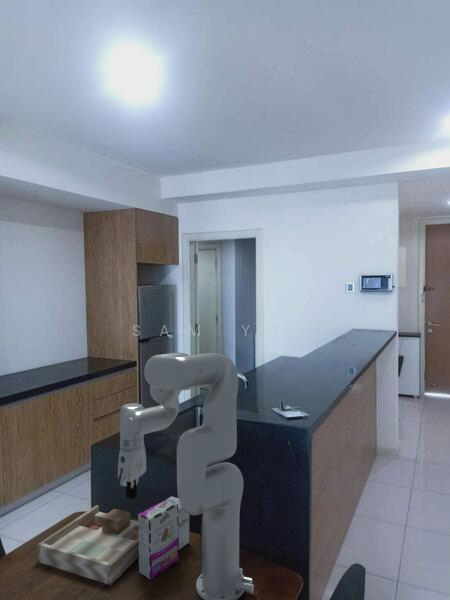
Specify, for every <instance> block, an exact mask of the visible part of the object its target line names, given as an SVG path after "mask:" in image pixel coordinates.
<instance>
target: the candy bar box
mask: <svg viewBox="0 0 450 600" xmlns="http://www.w3.org/2000/svg"><path fill="white" fill-rule="evenodd" d="M137 521H138V538H139V558H138V574H139V573H141V574H142V575H144V576H146V577H147V578H146V577H145V578H146V579H148V578H149V579H148V580H150V581H152V580H153V579H154V577H155V576H156V577H158V576H159V575H160V574H161V572H162V571H163V572H165V571H166V570H167V569H168V567H169V568H170V567H172V566H173V565H174V564H176V563H177V562H178V561H180V552H179V550H180V549H179V534H178V503H175V502H173V501H170V500H168V498H166V499H164V500H162V501H161V502H159V503H157V504H155V505H153V506H151V507H149V508H147V509H146V510H144V511H142V512H140V513H138V514H137ZM165 569H166V570H165ZM163 572H162V573H163ZM159 573H160V574H159ZM141 574H140V575H141ZM158 574H159V575H158ZM142 575H141V576H142ZM144 576H143V577H144ZM156 577H155V578H156ZM151 579H152V580H151Z"/></svg>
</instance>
